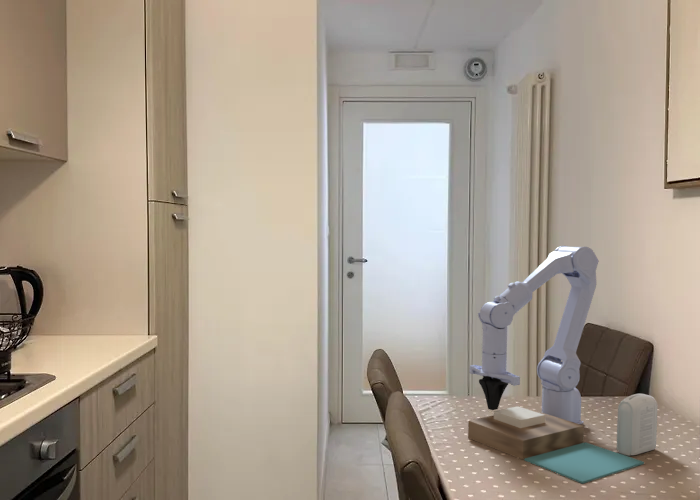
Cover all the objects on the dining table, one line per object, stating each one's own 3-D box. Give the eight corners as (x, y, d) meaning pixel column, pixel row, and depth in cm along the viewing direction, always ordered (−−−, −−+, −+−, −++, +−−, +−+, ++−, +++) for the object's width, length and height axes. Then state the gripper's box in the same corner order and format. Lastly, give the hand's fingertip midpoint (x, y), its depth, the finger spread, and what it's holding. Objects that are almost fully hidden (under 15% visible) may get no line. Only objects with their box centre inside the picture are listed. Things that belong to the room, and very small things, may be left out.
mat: (585, 444, 142) (585, 442, 142) (644, 463, 131) (644, 461, 130) (524, 460, 131) (524, 458, 131) (582, 483, 120) (582, 481, 119)
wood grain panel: (527, 424, 156) (528, 408, 156) (583, 443, 143) (584, 425, 142) (468, 437, 145) (468, 420, 145) (522, 459, 132) (523, 440, 131)
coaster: (517, 413, 151) (517, 406, 151) (544, 422, 144) (544, 414, 144) (493, 418, 146) (493, 411, 146) (520, 428, 140) (520, 420, 140)
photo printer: (640, 443, 143) (642, 389, 143) (659, 449, 139) (661, 393, 139) (613, 452, 137) (614, 395, 137) (631, 458, 134) (633, 400, 133)
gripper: (460, 348, 156) (459, 404, 156) (505, 359, 143) (503, 419, 144) (481, 346, 159) (480, 400, 160) (526, 356, 147) (525, 414, 148)
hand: (492, 409), depth 152 cm, fingers closed
